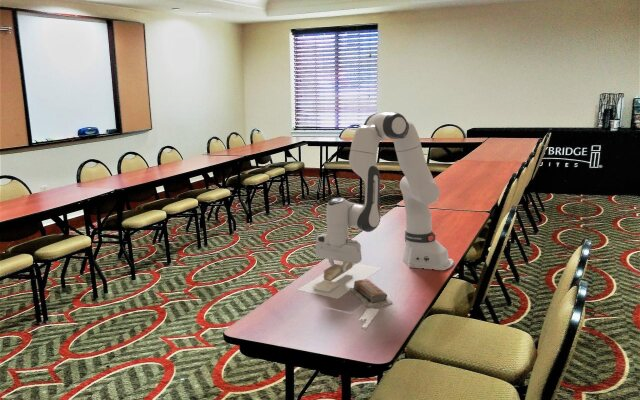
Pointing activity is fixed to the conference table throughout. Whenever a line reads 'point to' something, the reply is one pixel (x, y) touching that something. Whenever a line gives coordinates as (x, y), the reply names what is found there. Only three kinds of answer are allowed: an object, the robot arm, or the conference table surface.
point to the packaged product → (370, 294)
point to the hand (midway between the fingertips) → (338, 270)
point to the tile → (326, 286)
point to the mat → (342, 280)
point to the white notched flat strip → (368, 316)
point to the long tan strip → (335, 271)
